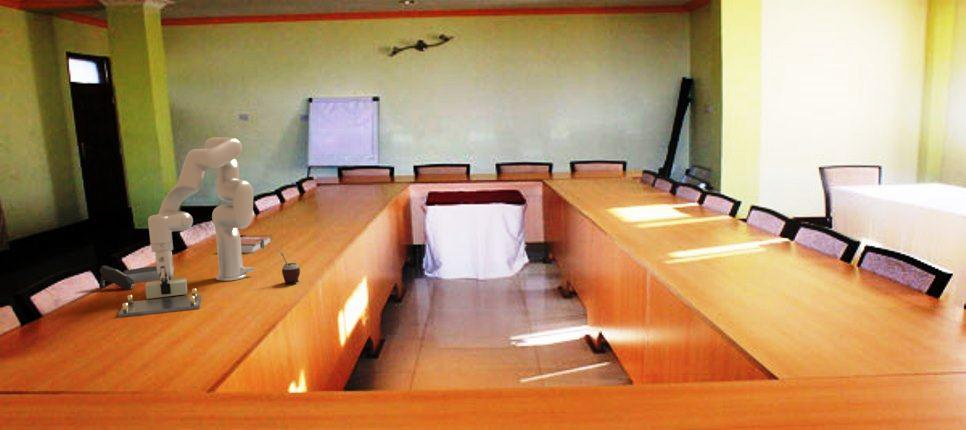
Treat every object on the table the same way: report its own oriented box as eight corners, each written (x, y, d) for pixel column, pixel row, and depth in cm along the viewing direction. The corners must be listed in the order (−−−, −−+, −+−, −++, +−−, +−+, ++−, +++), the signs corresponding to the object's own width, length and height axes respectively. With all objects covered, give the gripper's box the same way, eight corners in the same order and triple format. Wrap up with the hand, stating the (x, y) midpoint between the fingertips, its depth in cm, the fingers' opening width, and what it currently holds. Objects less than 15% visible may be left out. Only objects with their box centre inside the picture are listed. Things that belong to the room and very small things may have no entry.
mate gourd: (303, 282, 263) (301, 247, 261) (286, 286, 258) (284, 250, 255) (294, 279, 268) (292, 245, 266) (277, 283, 263) (274, 248, 260)
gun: (126, 303, 257) (133, 282, 255) (93, 283, 259) (100, 263, 256) (131, 301, 260) (138, 280, 257) (98, 281, 261) (106, 261, 259)
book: (254, 254, 320) (253, 244, 320) (220, 254, 321) (219, 244, 320) (272, 243, 346) (272, 234, 345) (240, 243, 347) (240, 234, 346)
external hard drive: (174, 278, 274) (173, 269, 274) (123, 285, 264) (122, 275, 264) (171, 272, 285) (170, 263, 285) (122, 278, 275) (121, 269, 275)
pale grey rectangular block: (187, 289, 252) (186, 277, 252) (186, 293, 247) (185, 281, 246) (148, 294, 247) (146, 282, 246) (146, 299, 242) (145, 286, 241)
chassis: (201, 297, 244) (200, 286, 243) (199, 308, 230) (198, 297, 229) (125, 305, 235) (124, 294, 234) (118, 317, 221) (116, 305, 220)
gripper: (170, 250, 237) (175, 296, 240) (174, 241, 253) (179, 284, 256) (148, 252, 234) (153, 299, 238) (153, 243, 250) (158, 286, 253)
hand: (167, 291), depth 247 cm, fingers closed on pale grey rectangular block, 6 cm apart
